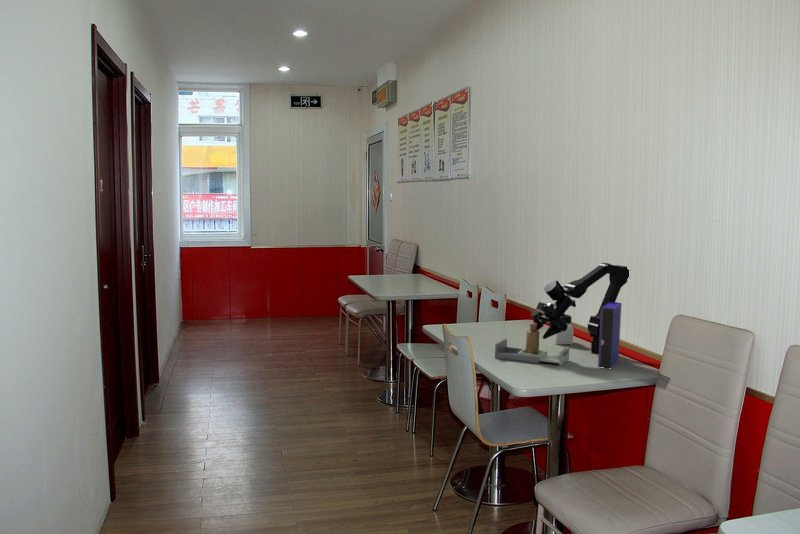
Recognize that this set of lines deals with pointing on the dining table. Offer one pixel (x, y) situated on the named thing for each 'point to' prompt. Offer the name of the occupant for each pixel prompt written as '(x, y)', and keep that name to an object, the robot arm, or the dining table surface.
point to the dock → (512, 353)
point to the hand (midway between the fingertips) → (536, 336)
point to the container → (565, 333)
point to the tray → (549, 356)
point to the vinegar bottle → (532, 340)
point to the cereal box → (609, 334)
